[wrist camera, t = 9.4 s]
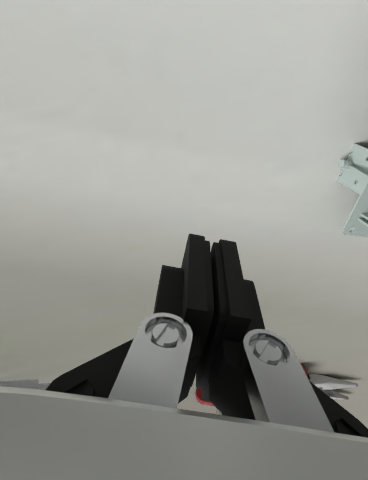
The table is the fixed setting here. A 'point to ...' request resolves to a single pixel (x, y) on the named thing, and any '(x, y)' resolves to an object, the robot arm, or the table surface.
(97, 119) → the table surface
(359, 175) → the metal bracket
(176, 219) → the table surface
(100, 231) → the table surface
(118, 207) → the table surface
